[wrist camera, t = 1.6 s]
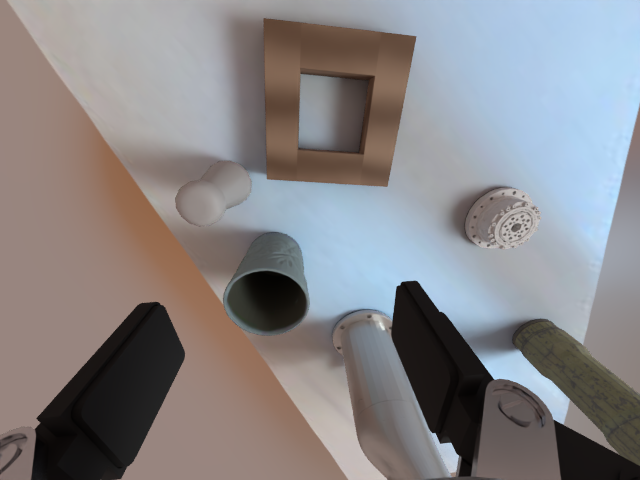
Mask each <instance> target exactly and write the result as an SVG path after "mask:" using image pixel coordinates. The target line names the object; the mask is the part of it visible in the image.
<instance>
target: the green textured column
mask: <svg viewBox="0 0 640 480" xmlns="http://www.w3.org/2000/svg"><path fill="white" fill-rule="evenodd" d="M512 341H513V344H514V345H515V346H516V347H517V348H518V349H519V350H520V351H521V352H522V354H523V356H524V357H525V358H526V359H527V360H528V361H529V362H530V363H531V364H532V365H533V366H534V367H535V368H536V369H537V370H538V371H539V372H540V373H541V374H542V375H543V376H545V377H546V378H548V379H550V380H551V381H553V383H554V384H555V385H556V386H557V387H558V388H559V389H560V390H561V391H562V392H563V393H564V394H565V395H566V396H567V397H568V398H569V399H570V400H571V401H572V402H573V403H574V404H575V405H576V406H577V407H578V408H579V409H580V410H581V411H582V412H583V413H584V414H585V415H586V416H587V417H588V418H589V419H590V420H591V421H592V422H593V423H594V424H595V425H596V426H597V427H598V428H599V429H600V430H601V431H602V432H603V434H604V436H605V437H606V440H607V441H608V443H609V444H610V445H611V446H612V447H613V448H614V449H615V450H616V451H617V452H618V453H619V454H620V456H622V457H624V458H626V459H628V460H630V461H632V462H634V463H635V464H637V465H639V466H640V394H639V393H638V392H636V391H635V390H634V389H633V388H631V387H630V386H629V385H627V384H626V383H625V382H624V381H622V380H621V379H620V378H618V377H617V376H616V375H615V374H614V373H612V372H611V371H610V370H609V369H607V368H606V367H605V366H603V365H602V364H601V363H600V362H598V361H597V360H596V359H595V358H593V357H592V356H591V354H590V353H589V351H588V350H587V349H586V347H584V346H583V345H582V344H581V343H579V342H578V341H577V340H575V339H574V338H573V337H572V336H570V335H569V334H568V333H566V332H565V331H564V330H562V329H559V328H558V327H557V326H556V325H554V323H552V322H551V321H549V320H547V319H537V320H533V321H530V322H528V323H526V324H524V325H523V326H521V327H520V328H519V329H518V330H517V331H516V332H515V334H514V336H513V339H512Z"/></svg>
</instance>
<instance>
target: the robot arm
mask: <svg viewBox="0 0 640 480" xmlns="http://www.w3.org/2000/svg"><path fill="white" fill-rule="evenodd" d="M332 339H333V345H334V347H335V349H336V350H337V351H338V352H339V353H340V354H341V355H343V357H344V363H345V369H346V375H347V381H348V387H349V392H350V398H351V404H352V410H353V416H354V422H355V427H356V433H357V438H358V441H359V444H360V447H361V449H362V451H363V453H364V454H365V456H366V457H367V458H368V460H369V461H370V462H371V463H372V464H373V465H374V466H375V467H376V468H377V469H378V470H379V471H380V472H381V473H382V474H383V475H384V476H385V477H386V478H387V479H388V480H640V466H639V465H637V464H635V463H634V462H632V461H630V460H628V459H626V458H624V457H622V456H620V455H618V454H617V453H615V452H613V451H611V450H609V449H607V448H605V447H604V446H602V445H600V444H598V443H596V442H594V441H592V440H591V439H589V438H587V437H585V436H583V435H581V434H579V433H577V432H576V431H574V430H572V429H570V428H568V427H566V426H564V425H563V424H561V423H559V422H557V421H555V420H553V417H552V414H551V413H550V411H549V409H548V408H547V406H546V405H545V404H544V403H543V401H542V400H541V399H540V398H539V397H538V396H537V395H535V394H534V393H533V392H531V391H530V390H529V389H527V388H526V387H524V386H522V385H520V384H518V383H516V382H513V381H510V380H505V379H497V380H494V379H493V377H492V376H491V375H490V373H489V372H488V371H487V369H486V368H485V367H484V365H483V364H482V363H481V361H480V360H479V359H478V357H477V356H476V355H475V353H474V352H473V351H472V349H471V348H470V347H469V345H468V344H467V343H466V341H465V340H464V339H463V337H462V336H461V335H460V333H459V332H458V331H457V329H456V328H455V326H454V325H453V324H452V322H451V321H450V320H449V318H448V317H447V316H446V315H445V314H444V313H442V312H439V310H438V309H437V308H436V306H435V305H434V303H433V302H432V301H431V299H430V298H429V297H428V295H427V294H426V292H425V291H424V290H423V288H422V287H421V286H420V284H419V283H418V282H417V281H406V282H402V283H401V285H400V286H397V289H396V297H395V305H394V313H393V321H392V320H391V319H390V318H389V316H387V315H386V314H384V313H382V312H379V311H375V310H361V311H357V312H354V313H351V314H349V315H347V316H345V317H344V318H343V319H341V320H340V321H339V322H338V323H337V325H336V326H335V328H334V330H333V334H332ZM393 343H394V344H393ZM395 348H396V349H395ZM184 357H185V352H184V349H183V347H182V344H181V342H180V340H179V338H178V336H177V333H176V331H175V329H174V327H173V324H172V322H171V320H170V318H169V315H168V313H167V311H166V309H165V307H164V306H163V305H160V303H158V302H150V303H141V304H139V305H138V306H137V307H136V308H135V309H134V310H133V311H132V312H131V313H130V315H129V316H128V317H127V318H126V319H125V320H124V321H123V322H122V324H121V325H120V326H119V327H118V328H117V329H116V330H115V331H114V332H113V334H112V335H111V336H110V337H109V338H108V339H107V340H106V341H105V342H104V344H103V345H102V346H101V347H100V348H99V349H98V350H97V351H96V353H95V354H94V355H93V356H92V357H91V358H90V359H89V360H88V361H87V363H86V364H85V365H84V366H83V367H82V368H81V369H80V370H79V371H78V373H77V374H76V375H75V376H74V377H73V378H72V380H70V382H69V383H68V384H67V385H66V386H65V387H64V388H63V389H62V390H61V392H60V393H59V394H58V395H57V396H56V397H55V398H54V399H53V401H52V402H51V403H50V404H49V405H48V406H47V407H46V408H45V409H44V411H43V412H42V413H41V414H40V415H39V416H38V417H37V419H38V421H39V422H40V424H39V425H38V426H37V428H36V429H33V428H31V427H20V428H16V429H13V430H11V431H8V432H7V433H4V434H2V435H0V480H116V479H121V478H122V476H123V474H124V472H125V470H126V468H127V466H129V465H130V464H131V463H132V462H133V461H134V459H135V457H136V456H137V454H138V451H139V450H140V448H141V446H142V444H143V442H144V439H145V438H146V435H147V433H148V431H149V429H150V427H151V425H152V423H153V421H154V419H155V417H156V415H157V413H158V411H159V409H160V407H161V405H162V403H163V401H164V399H165V397H166V395H167V393H168V391H169V389H170V387H171V385H172V383H173V381H174V379H175V377H176V375H177V373H178V371H179V369H180V367H181V365H182V363H183V361H184ZM400 360H401V361H400ZM405 372H406V373H405ZM417 401H418V402H417ZM430 431H431V432H432V433H436V435H437V437H438V440H439V442H440V444H442V443H452V445H453V447H454V449H455V451H456V453H457V454H458V455H459V460H458V466H457V471H456V477H451V475H450V473H449V471H448V469H447V467H446V465H445V463H444V461H443V459H442V457H441V455H440V453H439V450H438V448H437V446H436V444H435V442H434V439H433V437H432V435H431V433H430Z"/></svg>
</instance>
